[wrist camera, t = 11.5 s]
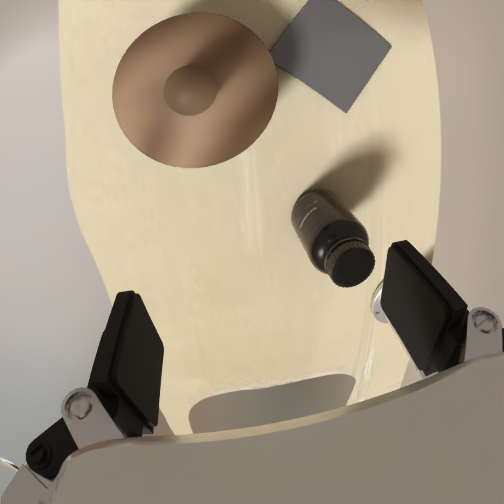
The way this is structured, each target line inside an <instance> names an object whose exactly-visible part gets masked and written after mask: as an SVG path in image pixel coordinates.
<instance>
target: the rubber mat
mask: <svg viewBox="0 0 504 504" xmlns="http://www.w3.org/2000/svg"><path fill="white" fill-rule="evenodd" d="M390 49H391V46H390V45H389V44H388V43H387V42H386V41H385V40H384V39H382V38H381V37H380V36H379V35H378V34H377V33H376V32H374V31H373V30H372V29H371V28H370V27H369V26H367V25H366V24H365V23H364V22H363V21H361V20H360V19H359V18H358V17H356V16H355V15H354V14H353V13H351V12H350V11H349V10H347V9H346V8H345V7H343V6H342V5H341V4H339V3H338V2H337V1H335V0H308V2H307V3H306V4H305V5H304V7H303V8H302V9H301V11H300V12H299V13H298V14H297V16H296V17H295V18H294V20H293V21H292V22H291V24H290V25H289V26H288V28H287V29H286V30H285V32H284V33H283V34H282V36H281V37H280V39H279V40H278V41H277V43H276V44H275V46H274V47H273V48H272V50H271V51H270V54H271V56H272V58H273V61H274V64H275V65H277V66H278V67H280V68H282V69H283V70H285V71H286V72H288V73H290V74H291V75H293V76H294V77H296V78H297V79H299V80H300V81H302V82H303V83H305V84H306V85H308V86H309V87H311V88H312V89H314V90H315V91H316V92H318V93H319V94H321V95H322V96H323V97H325V98H326V99H328V100H329V101H330V102H332V103H333V104H334V105H336V106H337V107H338V108H340V109H341V110H342V111H343V112H345V113H347V112H348V110H349V109H350V108H351V106H352V105H353V103H354V102H355V100H356V99H357V97H358V96H359V94H360V93H361V91H362V90H363V88H364V87H365V85H366V84H367V83H368V81H369V80H370V78H371V77H372V75H373V74H374V72H375V71H376V69H377V68H378V66H379V65H380V63H381V62H382V60H383V59H384V58H385V56H386V55H387V53H388V52H389V50H390Z"/></svg>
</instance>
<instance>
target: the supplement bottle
mask: <svg viewBox="0 0 504 504" xmlns="http://www.w3.org/2000/svg"><path fill="white" fill-rule="evenodd" d="M291 220H292V224H293V227H294V229H295V231H296V233H297V235H298V237H299V239H300V241H301V243H302V245H303V247H304V249H305V251H306V253H307V255H308V257H309V259H310V261H311V262H312V264H313V265H314V267H315V268H316V269H318V270H319V271H320V272H322V273H325V274H328V275H329V276H330V278H331V279H332V281H333V282H334V283H335V284H336V285H338V286H339V287H346V288H348V287H353V286H356V285H358V284H360V283H361V282H363V281H364V280H366V279H367V278H368V277H369V276H370V274H371V273H372V270H373V269H374V265H375V259H374V258H375V257H374V255H373V252H372V251H371V250H370V248H369V237H368V233H367V231H366V229H365V227H364V226H363V225H362V224H361V222H360V221H359V220H358V219H357V218H356V217H355V216H354V215H353V214H352V212H351V211H350V210H349V209H348V208H347V207H346V206H345V205H344V204H343V203H342V202H341V201H340V200H339V199H338V198H337V197H336V196H335V195H334V194H333V193H331V192H329V191H325V190H314V191H311V192H308V193H306V194H305V195H303V196H302V197H301V198H300V199H299V200H298V201H297V202H296V204H295V205H294V207H293V210H292V215H291Z"/></svg>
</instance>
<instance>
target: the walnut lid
mask: <svg viewBox="0 0 504 504" xmlns="http://www.w3.org/2000/svg"><path fill="white" fill-rule="evenodd" d="M277 96H278V77H277V71H276V67H275V64H274V61H273V58H272V56H271V54H270V52H269V50H268V49H267V47H266V46H265V44H264V43H263V42H262V41H261V39H260V38H259V37H258V36H257V35H256V34H255V33H254V32H252V31H251V30H250V29H249V28H247V27H246V26H244V25H242V24H241V23H239V22H237V21H235V20H233V19H230V18H228V17H224V16H221V15H217V14H210V13H189V14H182V15H178V16H174V17H171V18H168V19H166V20H163V21H161V22H159V23H157V24H155V25H154V26H152V27H150V28H149V29H147V30H146V31H145V32H143V33H142V34H141V35H140V36H139V37H138V38H137V39H136V40H135V41H134V42H133V43H132V44H131V45H130V47H129V48H128V49H127V51H126V52H125V54H124V55H123V57H122V59H121V61H120V63H119V65H118V67H117V70H116V74H115V77H114V82H113V91H112V99H113V108H114V112H115V115H116V119H117V121H118V123H119V126H120V128H121V129H122V131H123V133H124V134H125V136H126V137H127V138H128V140H129V141H130V142H131V143H132V144H133V145H134V146H135V147H136V148H137V149H138V150H139V151H141V152H142V153H143V154H145V155H146V156H148V157H150V158H152V159H154V160H155V161H158V162H161V163H163V164H166V165H170V166H174V167H181V168H200V167H207V166H212V165H216V164H219V163H222V162H225V161H227V160H229V159H231V158H233V157H235V156H237V155H238V154H240V153H241V152H243V151H244V150H246V149H247V148H248V147H249V146H250V145H252V144H253V143H254V142H255V141H256V140H257V139H258V137H259V136H260V135H261V134H262V132H263V131H264V130H265V128H266V127H267V125H268V123H269V121H270V119H271V117H272V115H273V112H274V110H275V106H276V102H277Z"/></svg>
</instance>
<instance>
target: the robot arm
mask: <svg viewBox="0 0 504 504" xmlns="http://www.w3.org/2000/svg"><path fill="white" fill-rule="evenodd" d="M467 307H468V305H467V304H466V303H465V302H464V300H462V298H461V297H460V296H459V295H458V293H457V292H456V291H455V290H454V289H453V288H452V287H451V286H450V284H449V283H447V281H446V280H445V279H444V278H443V277H442V276H441V275H440V273H439V272H438V271H437V270H436V269H435V268H434V267H433V266H432V265H431V264H430V263H429V262H428V261H427V260H426V259H425V258H424V257H423V256H422V255H421V254H420V253H419V252H418V251H417V250H416V249H415V248H414V247H413V246H412V245H411V244H410V243H409V242H408V241H407V240H403V241H398V242H394V243H392V245H391V247H389V249H388V253H387V261H386V268H385V275H384V281H383V282H382V283H381V284H380V285H379V287H378V288H377V290H376V291H375V293H374V295H373V298H372V301H371V311H372V314H373V315H374V317H375V318H376V319H377V320H378V321H380V322H382V323H389V324H390V326H391V328H392V329H393V331H394V333H395V334H396V336H397V337H398V339H399V341H400V342H401V344H402V346H403V347H404V349H405V351H406V353H407V354H408V356H409V358H410V359H411V361H412V363H413V365H414V366H415V368H416V370H417V372H418V373H419V375H420V377H421V379H422V380H421V381H418V382H416V383H413V384H410V385H408V386H405V387H403V388H400V389H397V390H395V391H392V392H389V393H386V394H383V395H380V396H377V397H374V398H371V399H368V400H365V401H362V402H359V403H355V404H352V405H349V406H345V407H342V408H338V409H335V410H331V411H327V412H323V413H319V414H315V415H311V416H307V417H302V418H298V419H293V420H288V421H284V422H278V423H273V424H267V425H262V426H255V427H249V428H242V429H236V430H228V431H219V432H209V433H199V434H186V435H171V436H149V437H148V436H147V437H142V434H153V429H154V426H157V424H158V412H159V398H160V386H161V375H162V365H163V355H164V346H163V343H162V341H161V339H160V337H159V335H158V333H157V330H156V328H155V326H154V324H153V322H152V320H151V318H150V316H149V314H148V312H147V310H146V307H145V305H144V303H143V301H142V299H141V296H140V295H139V294H138V293H137V294H135V292H134V291H132V290H131V291H125V292H119V293H118V294H117V296H116V299H115V301H114V304H113V307H112V311H111V313H110V316H109V319H108V322H107V325H106V329H105V331H104V332H103V334H102V337H101V340H100V343H99V347H98V350H97V354H96V357H95V360H94V364H93V367H92V371H91V375H90V379H89V382H88V386H87V388H82V387H81V388H76V389H75V390H73V391H71V392H70V393H69V394H68V395H67V396H66V397H65V399H64V400H63V403H62V406H61V413H62V416H63V417H62V418H61V419H60V420H58V421H57V422H56V423H54V424H53V425H52V426H51V427H50V428H48V429H47V430H46V431H45V432H43V433H42V434H41V435H40V436H38V437H37V438H36V439H35V440H33V441H32V442H31V443H30V444H29V446H28V448H27V452H26V461H27V465H26V466H25V465H24V464H22V466H21V467H20V469H19V470H18V472H17V473H16V475H15V476H14V478H13V479H12V481H11V482H10V484H9V485H8V487H7V488H6V490H5V491H4V493H3V495H2V497H1V504H504V328H502V326H501V321H500V319H499V318H498V316H497V315H496V314H495V313H494V312H492V311H491V310H490V309H487V308H483V307H478V308H474V309H472V310H471V311H470V312H469V311H468V310H467Z"/></svg>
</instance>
